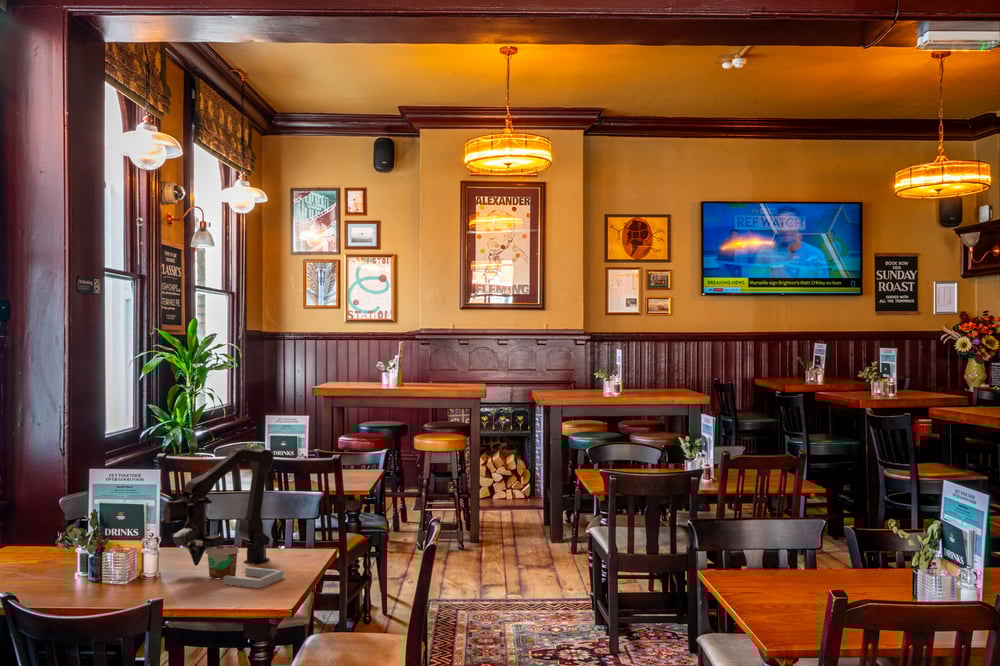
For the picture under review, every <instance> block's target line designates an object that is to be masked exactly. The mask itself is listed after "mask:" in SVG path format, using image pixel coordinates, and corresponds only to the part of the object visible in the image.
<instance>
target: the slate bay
mask: <svg viewBox="0 0 1000 666" xmlns="http://www.w3.org/2000/svg"><path fill="white" fill-rule="evenodd" d="M246 575H249V576H248V577H247V576H246ZM245 576H246V577H244V576H238V575H237V576H236V575H235V576H229V575H226V576H224V579H223V585H224V584H231V585H230V586H232V585H238V586H237V587H241V586H246V587H245V588H249V587H252V588H251V589H257V588H260V589H262V588H264V587H267V586H269V585H271V584H273V583H276V582H278V581H280V580H282V579H283V580H284V570H282V569H273V568H262V567H253V566H246V567H245ZM254 576H257V577H256V578H252V577H254ZM266 585H267V586H266ZM261 587H262V588H261Z"/></svg>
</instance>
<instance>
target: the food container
mask: <svg viewBox="0 0 1000 666" xmlns="http://www.w3.org/2000/svg"><path fill="white" fill-rule="evenodd" d="M204 553H205V554H206V555H207V562H208V564H207V565H208V574H209V578H210V577H212V578H211V579H214V578H224V576H226V575H229V576H236V575H237V574H236V573H237V561H238V560H237V559H238V553H240V552H239V547H238V546H233V547H229V546H226V545H219V546H216V547H213V548H209V547H207V548H206V550H205V552H204Z"/></svg>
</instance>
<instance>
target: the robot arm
mask: <svg viewBox="0 0 1000 666" xmlns="http://www.w3.org/2000/svg"><path fill="white" fill-rule="evenodd" d="M243 461H247V462H249V466H250V471H251V480H250V481H251V482H250V488H249V489H250V490H249V496H248V501H247V510H246V515H245V516H244V518H243V519H242V518H240V519H239V521H238V522H239V526H238V529H237V531H238V533H239V536H240V537H241V539H242V540H243V542H244V543H245V544H247V546H246V547H247V548H246V559H245V560H244V561H243V563H244V562H246V563H245V564H252V563H254V565H260V564H262V562H263V563H265V562H267V561H270V559H271V558H269V557H267V546H268V545H270V540H271V538H270V537H269V536H268V535H267V534H265V533H264V523H263V519H262V509H263V502H264V501H263V499H264V493H265V488H266V487H265V486H266V480H267V479H266V478H267V475H268V473H269V472H270V470H271V468H272V465H273V462H274V453H273V452H271V450H270V449H265V448H255V449H253V450H249V449H244V448H238V447H237V448H235V449H233V450H232V452H230V453H229V454H228V455H227V456H226V457H224V458H223V459H221V460H220V461H219V462H218V463H217V464H216V465H214V466H213V467H212V468H210V469H209V470H208V471H207V472H205V473H203V474H200V475H198V476H195V477H194V478H192V479H191V480H189V481H187V483H186V484H185V486H184V487H185V488H184V490H183V492H182V493H181V495H180V496H179V498H178V499H177V500H173V501H172V500H171V501H170V500H169V501H168V500H167V501H165V505H164V507H163V510H162V518H163V521H164V522H165V524H169V523H176V522H182V521H185V520H186V519H187V521H186V522H184V524H183V528H182V529H180V530H178V531H177V532H173V533H171V534H170V536H169V541H168V542H169V544H175V546H182V547H184V548H185V549H186V550H188V551H189V552H188V553H189V554H190V557H191V558H192V559H191V560H192V563H193V565H194V566H198V565H199V564H200V561H201V559H202V558H203V555H204V553H205V552H206V548H207V547H209V548H213V547H216V546H223V545H224V544H225V538H224V537H223V535H218V534H212V535H210V536H209V532H207V531H206V528H207V527H206V525H208V524H209V520H208V519H206V518H207V515H206V513H207V511H206V507H207V505H209V504H212V503H213V501H212V500H211V499H210V498H209V497H208V494H209V493H210V492H211V491H212V490H213V489H214V488H215V487H214V486H215V484H217V483H218V481H220V480H221V479H222V478H224V476H225V475H226V476H227V474H228V473H229V472H231V471H232V470H233V469H234V468H235V467H237V466H238V465H240V464H241V463H242V462H243Z"/></svg>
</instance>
